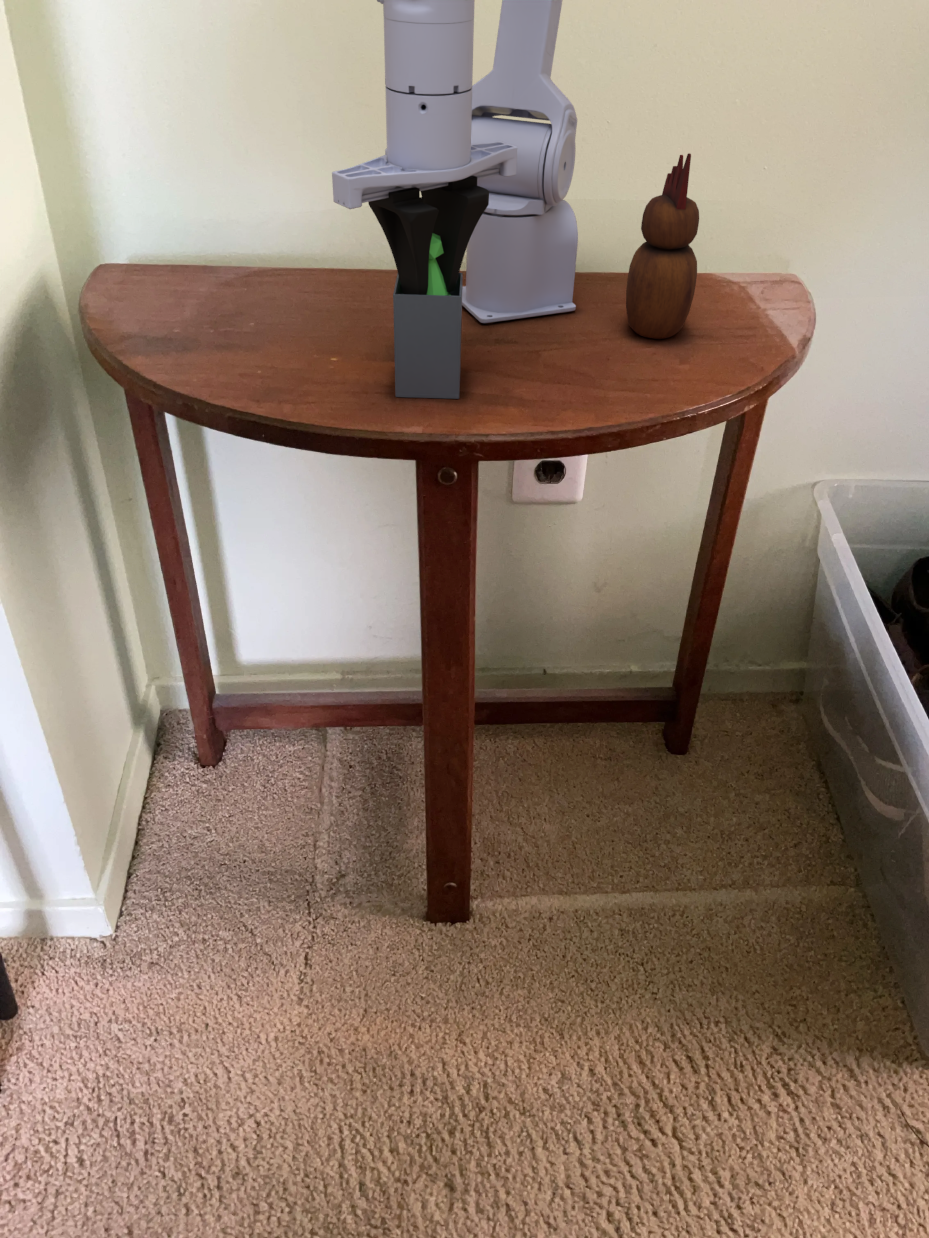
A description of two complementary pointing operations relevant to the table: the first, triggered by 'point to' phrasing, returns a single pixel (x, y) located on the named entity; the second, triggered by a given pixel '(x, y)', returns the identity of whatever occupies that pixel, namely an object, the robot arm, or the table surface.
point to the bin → (427, 343)
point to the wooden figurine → (664, 260)
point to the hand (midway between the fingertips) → (428, 291)
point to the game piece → (435, 269)
